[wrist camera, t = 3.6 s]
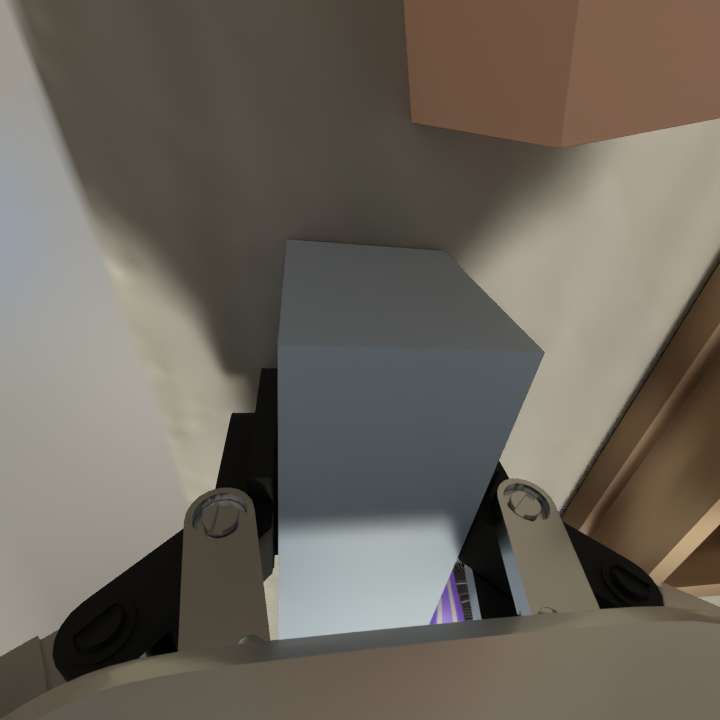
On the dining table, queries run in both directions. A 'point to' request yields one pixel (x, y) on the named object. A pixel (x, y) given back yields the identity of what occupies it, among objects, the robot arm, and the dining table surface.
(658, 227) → the dining table surface
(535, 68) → the salmon orange rectangular block
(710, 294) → the jig
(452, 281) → the light blue block
